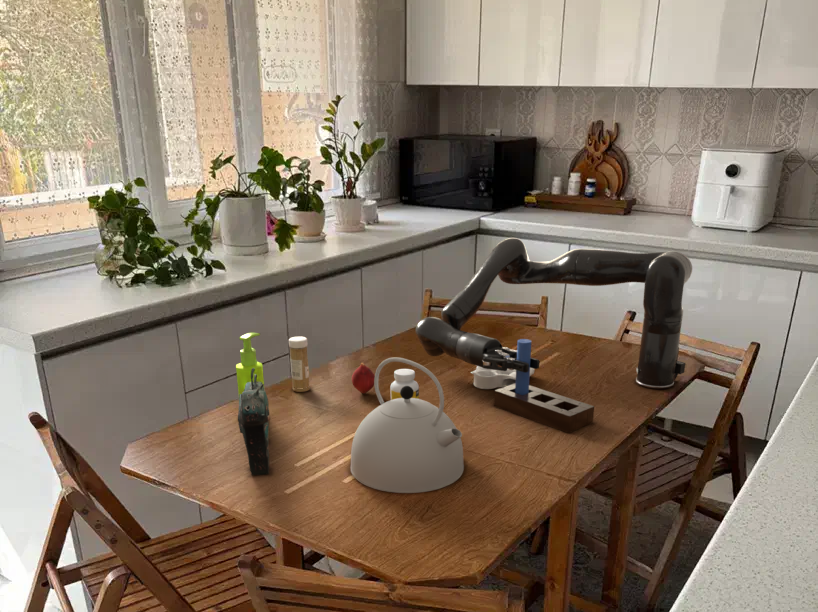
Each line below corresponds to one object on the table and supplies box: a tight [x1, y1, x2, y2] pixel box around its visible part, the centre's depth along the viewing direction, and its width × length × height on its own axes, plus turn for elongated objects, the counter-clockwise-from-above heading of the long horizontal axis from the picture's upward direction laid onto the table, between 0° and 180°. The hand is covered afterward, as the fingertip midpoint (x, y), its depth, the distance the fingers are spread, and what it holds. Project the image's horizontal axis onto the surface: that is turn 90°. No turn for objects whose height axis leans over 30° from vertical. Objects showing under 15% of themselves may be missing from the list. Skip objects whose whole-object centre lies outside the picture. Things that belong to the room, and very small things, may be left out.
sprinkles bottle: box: [288, 335, 311, 393], centre depth 196 cm, size 5×5×14 cm
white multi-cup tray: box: [470, 366, 536, 390], centre depth 204 cm, size 3×18×15 cm
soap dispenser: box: [235, 331, 265, 396], centre depth 177 cm, size 6×7×20 cm
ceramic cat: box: [237, 368, 271, 476], centre depth 157 cm, size 20×6×20 cm, turn 9°
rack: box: [493, 383, 595, 434], centre depth 182 cm, size 9×22×4 cm, turn 42°
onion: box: [351, 362, 375, 395], centre depth 194 cm, size 6×6×8 cm
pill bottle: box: [389, 368, 420, 400], centre depth 177 cm, size 6×6×12 cm
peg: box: [515, 338, 532, 395], centre depth 184 cm, size 3×3×15 cm
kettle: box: [350, 356, 465, 494], centre depth 152 cm, size 25×23×23 cm
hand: (532, 366), depth 181 cm, fingers closed on peg, 3 cm apart
